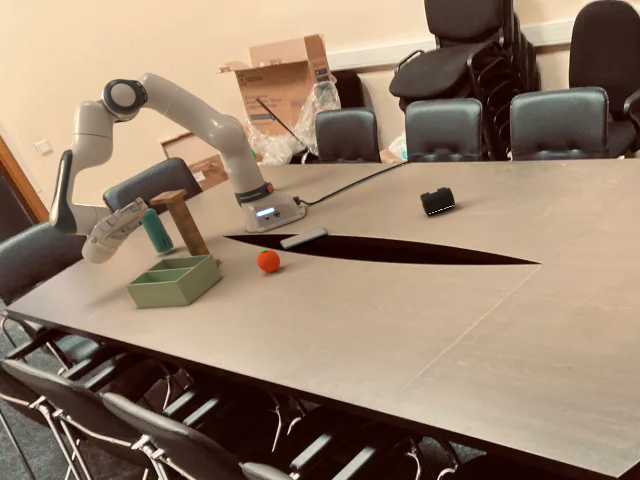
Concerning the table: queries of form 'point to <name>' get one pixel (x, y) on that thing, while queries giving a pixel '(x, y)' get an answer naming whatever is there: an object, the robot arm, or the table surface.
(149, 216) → the beverage bottle
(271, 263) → the clementine
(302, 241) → the smartphone
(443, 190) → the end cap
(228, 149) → the robot arm
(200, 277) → the cutlery tray
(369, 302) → the table surface
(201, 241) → the oak stand
